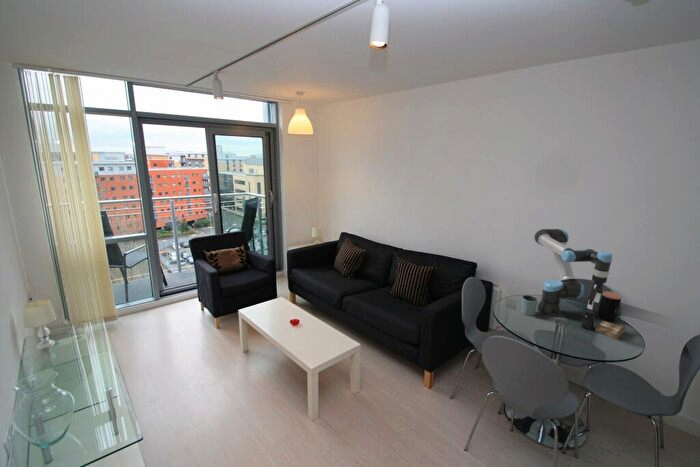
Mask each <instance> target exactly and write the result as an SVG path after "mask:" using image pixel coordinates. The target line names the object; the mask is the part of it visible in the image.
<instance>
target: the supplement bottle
mask: <svg viewBox="0 0 700 467" xmlns="http://www.w3.org/2000/svg"><path fill="white" fill-rule="evenodd" d="M595 321H596V316H595V311H593V310H592V309H586V310H585V311H584V313H583V314H582V317H581V322H580V327H581V328H582V329H584V330H586V331H592V330H594V326H595Z"/></svg>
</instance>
